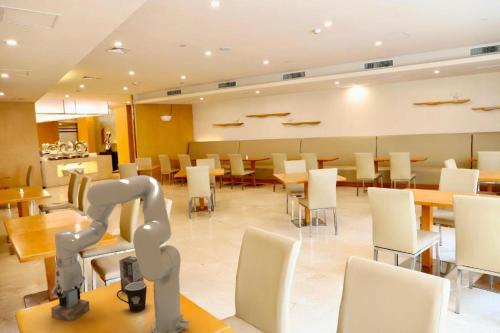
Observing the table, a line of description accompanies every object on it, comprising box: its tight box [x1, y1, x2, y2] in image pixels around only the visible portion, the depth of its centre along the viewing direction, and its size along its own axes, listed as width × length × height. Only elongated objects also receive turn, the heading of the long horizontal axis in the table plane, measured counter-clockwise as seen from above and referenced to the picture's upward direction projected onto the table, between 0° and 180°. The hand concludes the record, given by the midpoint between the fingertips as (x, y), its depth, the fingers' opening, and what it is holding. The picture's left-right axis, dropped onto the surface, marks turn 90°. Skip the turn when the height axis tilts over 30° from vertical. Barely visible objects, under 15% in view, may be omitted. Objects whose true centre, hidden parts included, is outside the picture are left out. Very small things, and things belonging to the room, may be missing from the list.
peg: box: [64, 287, 78, 308], centre depth 152 cm, size 4×4×10 cm
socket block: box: [50, 298, 91, 322], centre depth 152 cm, size 10×10×4 cm
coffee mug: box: [116, 282, 148, 313], centre depth 155 cm, size 12×9×10 cm
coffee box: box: [118, 255, 145, 295], centre depth 170 cm, size 9×6×16 cm
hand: (70, 301), depth 152 cm, fingers open, 6 cm apart
